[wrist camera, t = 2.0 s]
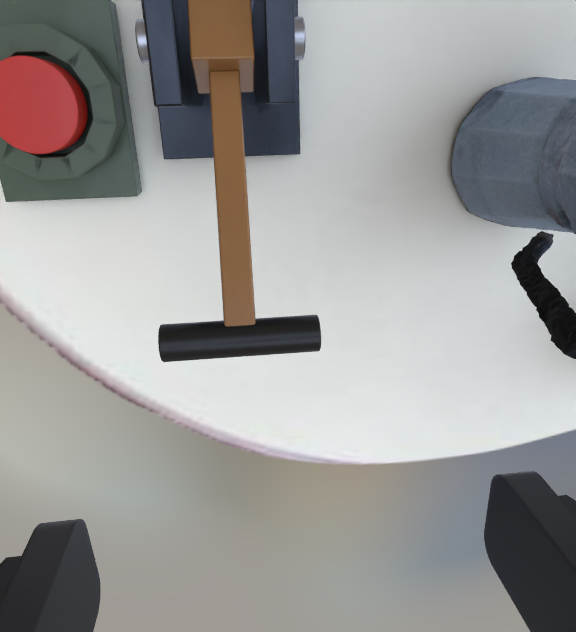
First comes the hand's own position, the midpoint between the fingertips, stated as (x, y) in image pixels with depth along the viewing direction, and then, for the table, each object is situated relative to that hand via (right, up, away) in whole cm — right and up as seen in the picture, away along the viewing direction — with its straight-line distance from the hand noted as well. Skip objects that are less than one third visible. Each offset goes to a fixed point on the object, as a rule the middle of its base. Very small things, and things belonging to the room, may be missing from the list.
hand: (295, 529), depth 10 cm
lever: (-2, +9, +9) cm, 13 cm away
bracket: (-4, +19, +19) cm, 27 cm away
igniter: (-13, +16, +19) cm, 28 cm away
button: (-13, +15, +16) cm, 25 cm away
